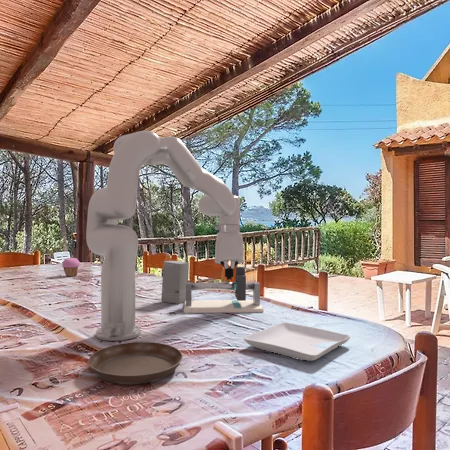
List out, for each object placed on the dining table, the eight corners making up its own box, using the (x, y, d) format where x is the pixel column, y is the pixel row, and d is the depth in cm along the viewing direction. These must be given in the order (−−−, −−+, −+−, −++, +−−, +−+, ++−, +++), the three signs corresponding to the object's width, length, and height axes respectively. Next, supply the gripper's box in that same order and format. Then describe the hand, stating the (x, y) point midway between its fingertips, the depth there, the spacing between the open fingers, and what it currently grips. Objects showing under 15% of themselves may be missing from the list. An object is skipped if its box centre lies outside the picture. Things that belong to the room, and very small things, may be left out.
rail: (259, 305, 150) (260, 282, 149) (185, 306, 148) (185, 283, 147) (258, 302, 154) (258, 280, 153) (186, 303, 152) (186, 281, 151)
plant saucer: (185, 353, 103) (185, 340, 103) (179, 390, 82) (179, 373, 82) (102, 354, 102) (102, 341, 102) (75, 391, 82) (75, 375, 82)
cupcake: (83, 275, 221) (83, 257, 220) (69, 278, 213) (69, 258, 213) (72, 274, 225) (72, 256, 225) (58, 276, 218) (58, 257, 218)
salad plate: (283, 331, 123) (283, 320, 123) (351, 347, 109) (352, 334, 109) (240, 350, 106) (241, 337, 106) (315, 370, 93) (315, 355, 93)
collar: (245, 300, 147) (245, 268, 146) (237, 300, 147) (237, 268, 146) (242, 295, 156) (243, 265, 155) (235, 295, 155) (235, 265, 155)
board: (263, 312, 145) (263, 308, 145) (183, 312, 143) (184, 309, 143) (257, 303, 159) (257, 299, 159) (185, 303, 157) (185, 300, 157)
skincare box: (161, 302, 159) (161, 261, 159) (171, 298, 166) (171, 259, 165) (179, 304, 155) (179, 263, 155) (189, 300, 162) (189, 261, 161)
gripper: (209, 229, 146) (209, 280, 146) (250, 229, 147) (250, 280, 147) (208, 228, 153) (208, 277, 154) (248, 228, 154) (247, 277, 155)
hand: (229, 278), depth 151 cm, fingers closed
